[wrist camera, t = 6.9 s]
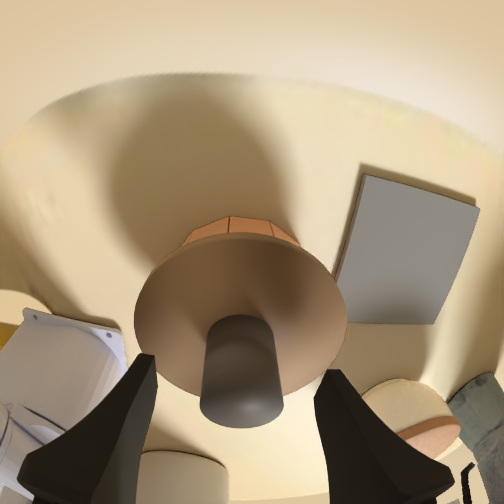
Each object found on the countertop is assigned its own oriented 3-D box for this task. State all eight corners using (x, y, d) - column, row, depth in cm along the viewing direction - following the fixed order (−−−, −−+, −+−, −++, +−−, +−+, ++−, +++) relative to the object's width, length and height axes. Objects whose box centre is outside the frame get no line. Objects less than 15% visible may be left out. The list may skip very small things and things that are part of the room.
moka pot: (516, 354, 26) (582, 455, 8) (451, 427, 32) (493, 524, 14) (486, 352, 24) (564, 481, 6) (412, 434, 30) (453, 550, 12)
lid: (144, 381, 16) (128, 445, 12) (136, 217, 12) (87, 273, 8) (310, 396, 17) (324, 459, 13) (370, 249, 13) (420, 310, 9)
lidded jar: (326, 386, 24) (351, 479, 15) (435, 344, 23) (482, 420, 14) (339, 436, 28) (356, 505, 20) (425, 403, 27) (453, 465, 19)
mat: (322, 317, 20) (324, 321, 20) (363, 173, 16) (366, 175, 16) (430, 320, 21) (433, 324, 21) (476, 206, 17) (480, 208, 17)
